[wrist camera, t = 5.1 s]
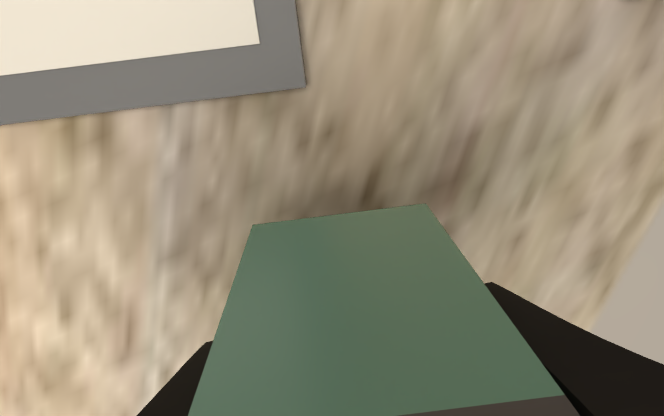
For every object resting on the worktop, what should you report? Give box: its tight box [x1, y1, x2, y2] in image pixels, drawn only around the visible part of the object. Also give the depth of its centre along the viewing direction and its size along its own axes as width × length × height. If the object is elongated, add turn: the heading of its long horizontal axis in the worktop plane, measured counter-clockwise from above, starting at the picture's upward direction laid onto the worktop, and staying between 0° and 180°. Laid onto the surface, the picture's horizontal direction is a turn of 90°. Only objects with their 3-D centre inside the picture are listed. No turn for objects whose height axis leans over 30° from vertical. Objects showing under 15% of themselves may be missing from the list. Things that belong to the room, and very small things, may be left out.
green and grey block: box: [188, 203, 580, 416], centre depth 8 cm, size 4×4×8 cm
